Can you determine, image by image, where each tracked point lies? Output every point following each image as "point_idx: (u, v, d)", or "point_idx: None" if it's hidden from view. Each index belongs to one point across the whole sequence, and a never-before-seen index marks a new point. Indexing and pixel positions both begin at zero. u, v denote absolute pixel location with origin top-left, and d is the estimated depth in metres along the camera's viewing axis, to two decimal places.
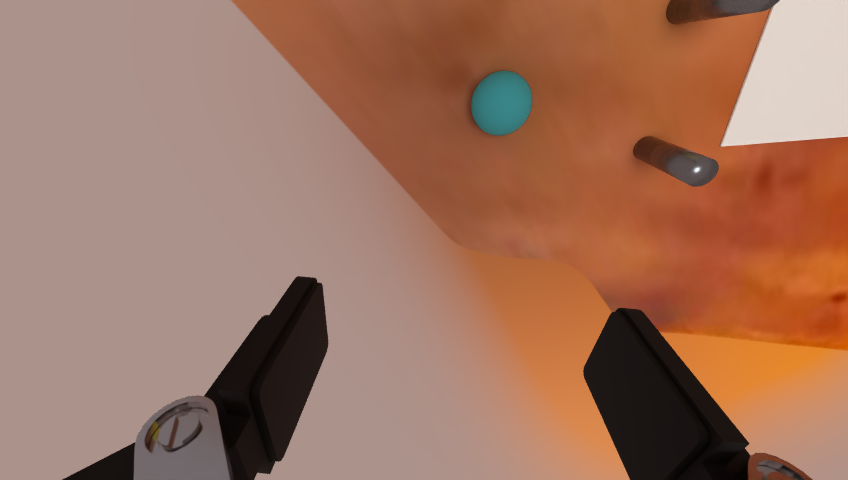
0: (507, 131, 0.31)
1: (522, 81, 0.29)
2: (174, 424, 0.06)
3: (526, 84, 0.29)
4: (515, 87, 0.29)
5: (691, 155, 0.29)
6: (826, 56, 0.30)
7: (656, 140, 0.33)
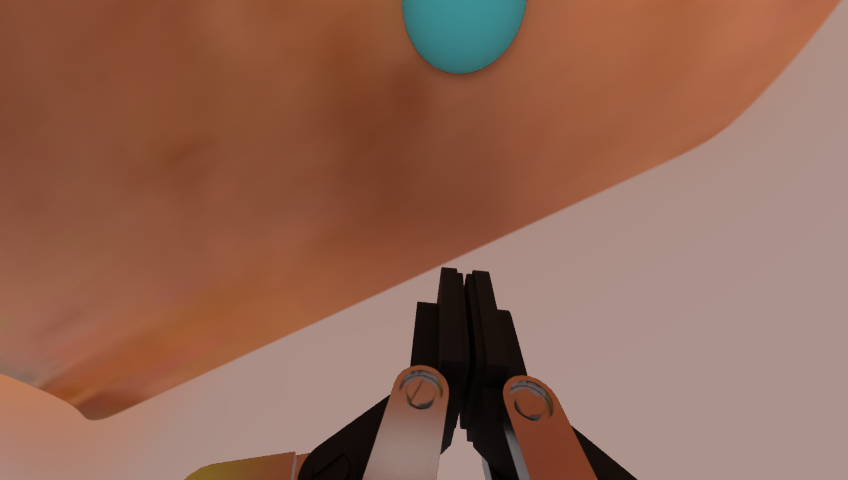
0: None
1: None
2: (419, 384, 0.07)
3: None
4: None
5: None
6: None
7: None
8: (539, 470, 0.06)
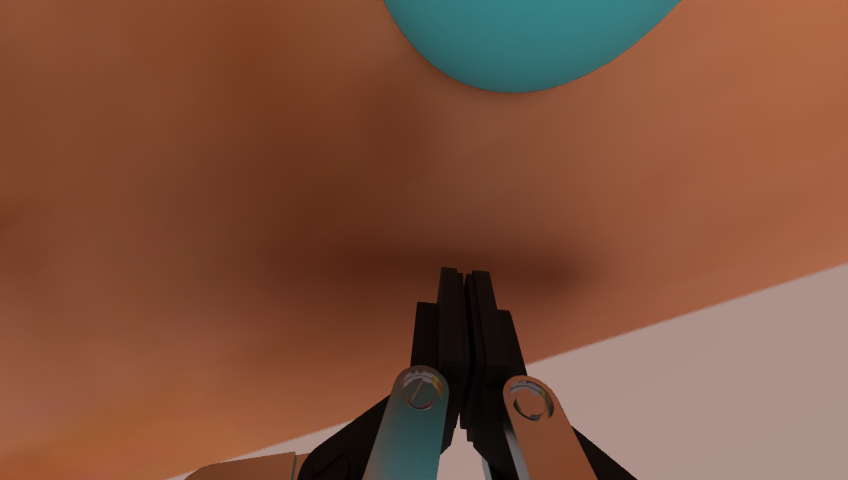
0: None
1: None
2: (419, 384, 0.07)
3: None
4: None
5: None
6: None
7: None
8: (539, 470, 0.06)
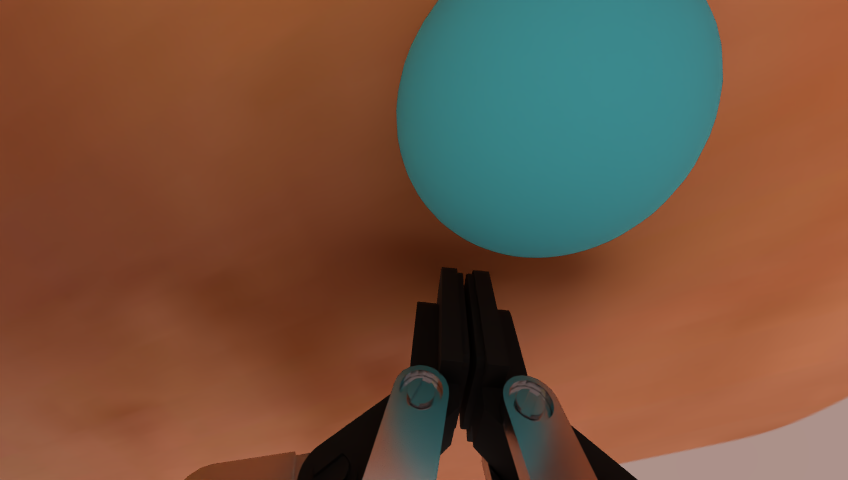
0: None
1: None
2: (419, 384, 0.07)
3: None
4: None
5: None
6: None
7: None
8: (539, 470, 0.06)
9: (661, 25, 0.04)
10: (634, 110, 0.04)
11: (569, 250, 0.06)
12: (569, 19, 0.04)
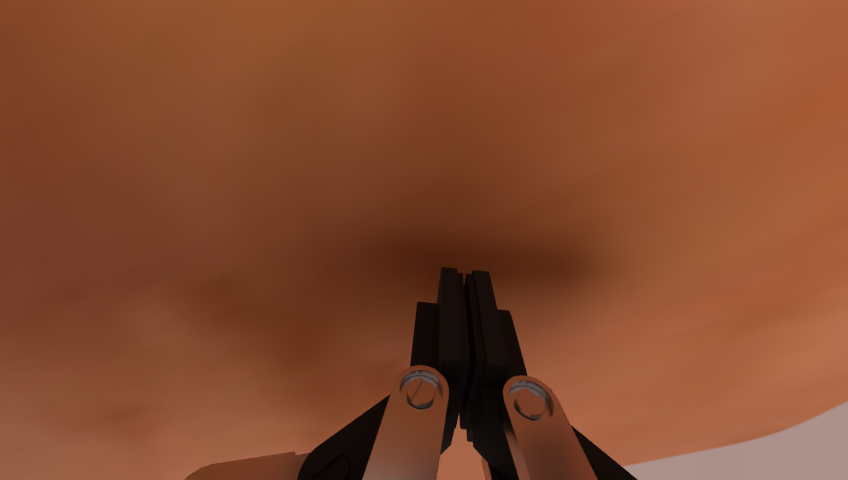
0: None
1: None
2: (419, 384, 0.07)
3: None
4: None
5: None
6: None
7: None
8: (539, 470, 0.06)
9: None
10: None
11: None
12: None
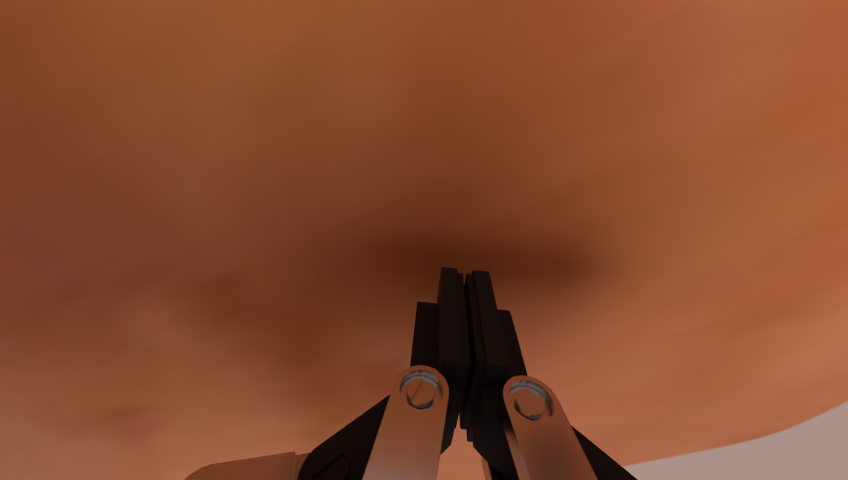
0: None
1: None
2: (419, 384, 0.07)
3: None
4: None
5: None
6: None
7: None
8: (539, 470, 0.06)
9: None
10: None
11: None
12: None
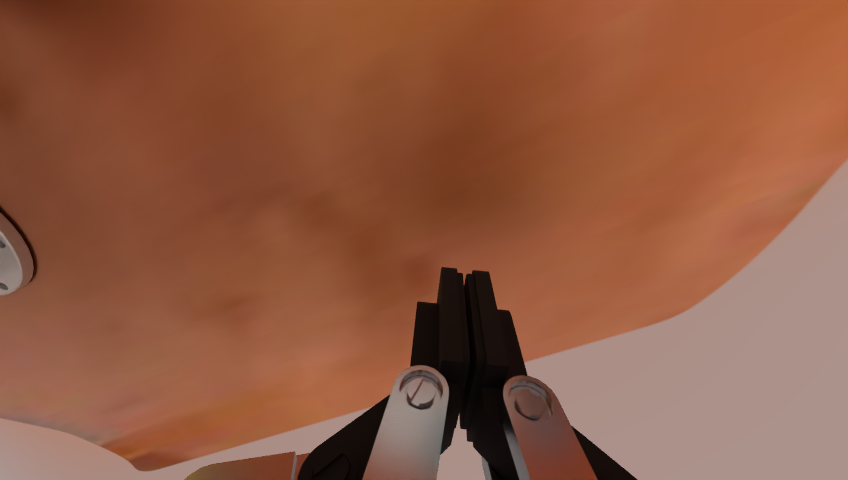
0: None
1: None
2: (419, 384, 0.07)
3: None
4: None
5: None
6: None
7: None
8: (539, 470, 0.06)
9: None
10: None
11: None
12: None
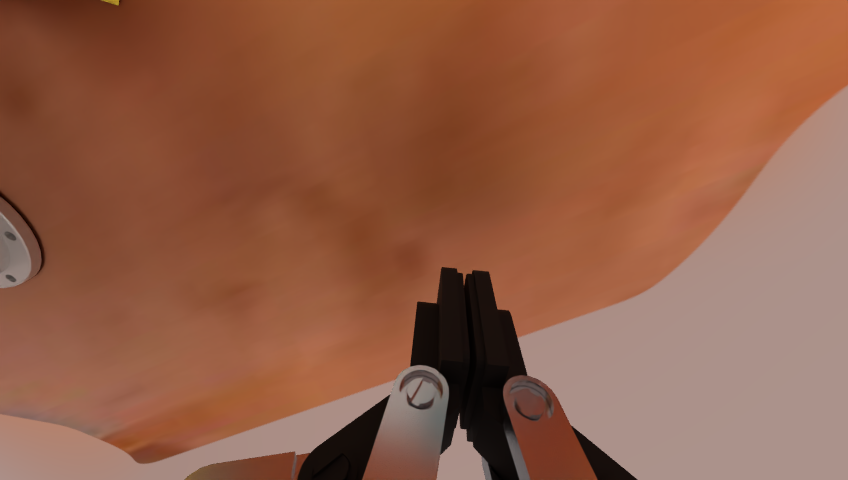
0: None
1: None
2: (419, 384, 0.07)
3: None
4: None
5: None
6: None
7: None
8: (539, 470, 0.06)
9: None
10: None
11: None
12: None
